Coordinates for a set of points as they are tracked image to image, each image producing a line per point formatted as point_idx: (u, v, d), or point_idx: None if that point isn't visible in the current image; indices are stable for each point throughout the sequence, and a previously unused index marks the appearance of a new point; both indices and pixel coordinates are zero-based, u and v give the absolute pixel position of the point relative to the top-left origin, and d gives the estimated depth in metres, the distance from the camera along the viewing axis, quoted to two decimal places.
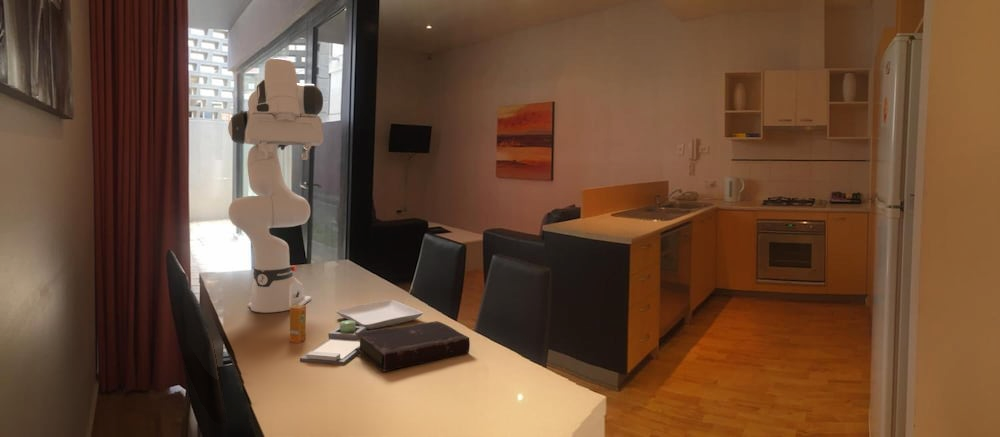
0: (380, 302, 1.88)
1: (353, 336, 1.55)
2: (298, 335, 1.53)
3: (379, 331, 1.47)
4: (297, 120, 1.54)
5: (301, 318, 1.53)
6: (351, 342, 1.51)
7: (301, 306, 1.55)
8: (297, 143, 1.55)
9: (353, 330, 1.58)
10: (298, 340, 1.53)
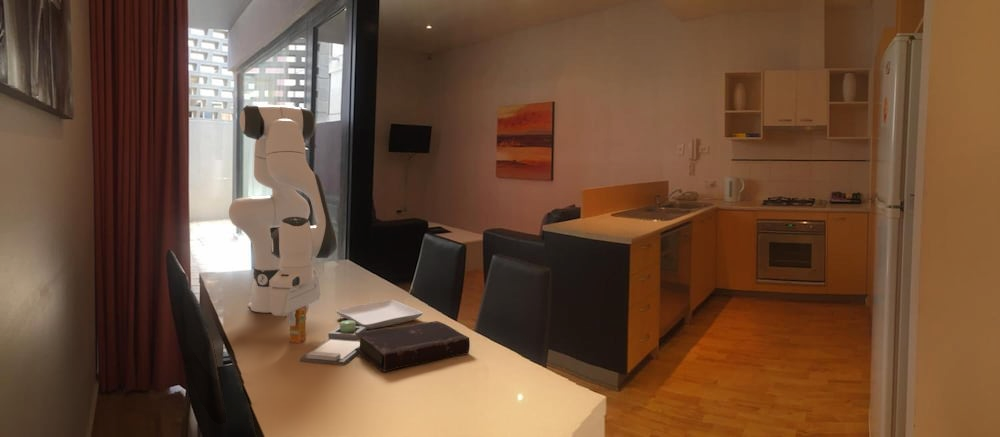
0: (380, 302, 1.88)
1: (353, 336, 1.55)
2: (298, 335, 1.53)
3: (379, 331, 1.47)
4: (308, 283, 1.56)
5: (301, 318, 1.53)
6: (351, 342, 1.51)
7: None
8: None
9: (353, 330, 1.58)
10: (298, 340, 1.53)
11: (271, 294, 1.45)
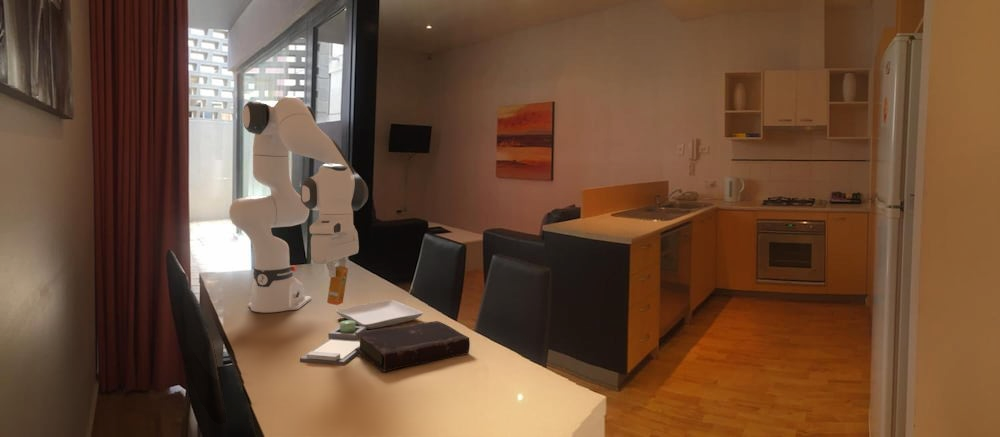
0: (380, 302, 1.88)
1: (353, 336, 1.55)
2: (337, 297, 1.46)
3: (379, 331, 1.47)
4: (348, 234, 1.49)
5: (342, 280, 1.46)
6: (351, 342, 1.51)
7: (343, 267, 1.48)
8: None
9: (353, 330, 1.58)
10: (336, 302, 1.46)
11: (312, 240, 1.38)
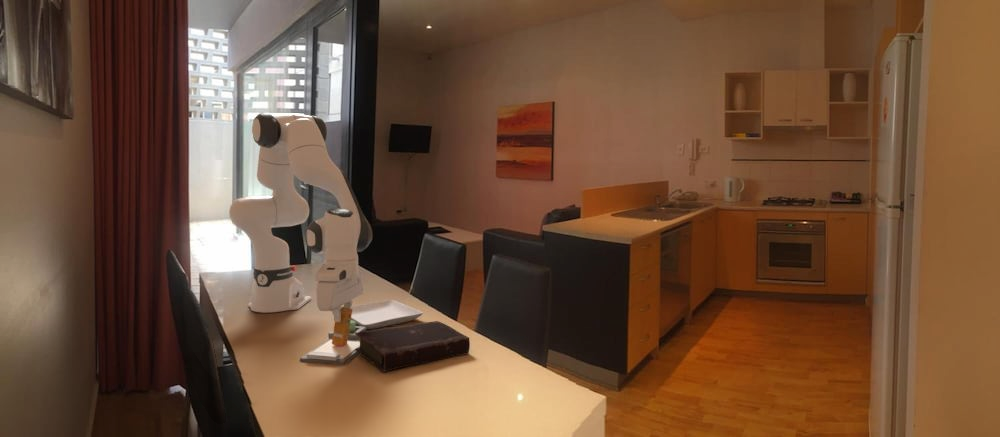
0: (380, 302, 1.88)
1: (353, 336, 1.55)
2: (341, 339, 1.47)
3: (379, 331, 1.47)
4: None
5: (346, 321, 1.48)
6: (351, 342, 1.51)
7: (348, 309, 1.49)
8: None
9: (353, 330, 1.58)
10: (341, 344, 1.48)
11: (317, 288, 1.39)
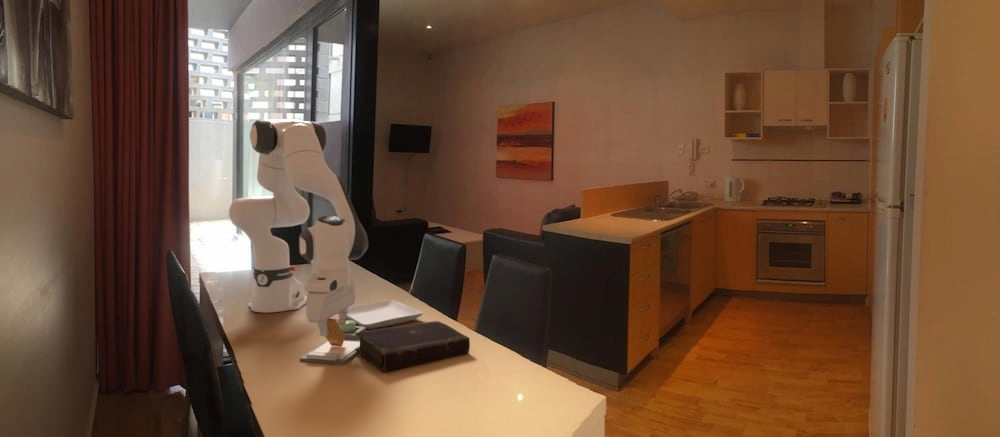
0: (380, 302, 1.88)
1: (353, 336, 1.55)
2: (338, 343, 1.46)
3: (379, 331, 1.47)
4: (344, 287, 1.46)
5: (335, 332, 1.43)
6: (351, 342, 1.51)
7: (331, 322, 1.41)
8: None
9: (353, 330, 1.58)
10: (340, 345, 1.47)
11: (307, 299, 1.34)
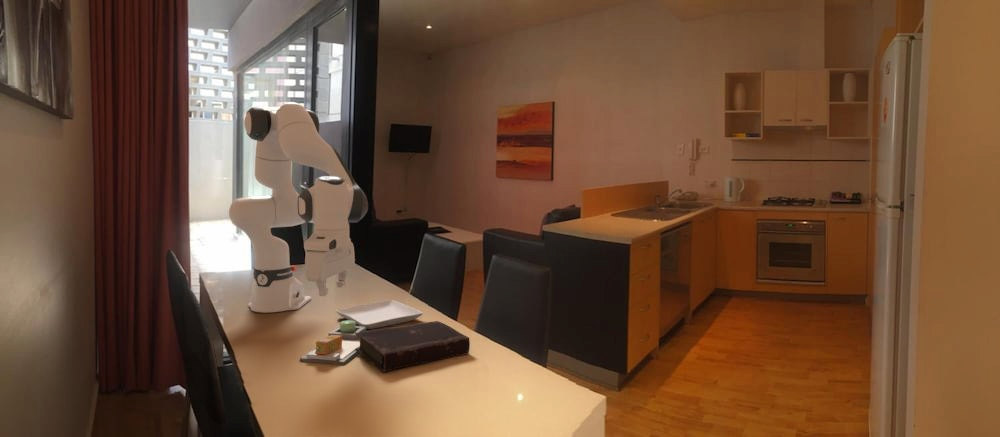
0: (380, 302, 1.88)
1: (353, 336, 1.55)
2: None
3: (379, 331, 1.47)
4: (344, 248, 1.45)
5: (331, 349, 1.41)
6: (351, 342, 1.51)
7: (324, 346, 1.38)
8: None
9: (353, 330, 1.58)
10: None
11: (306, 257, 1.33)
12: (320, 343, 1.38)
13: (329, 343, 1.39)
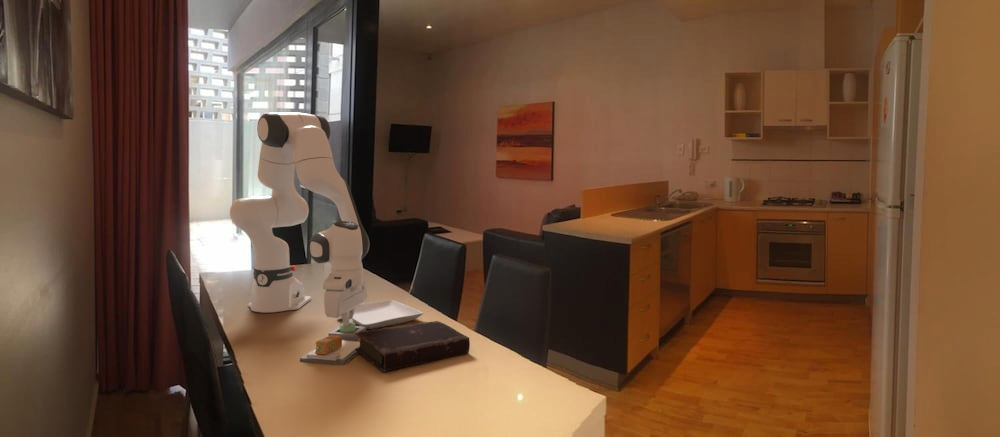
0: (380, 302, 1.88)
1: (353, 336, 1.55)
2: None
3: (379, 331, 1.47)
4: None
5: (331, 349, 1.41)
6: (351, 342, 1.51)
7: (324, 346, 1.38)
8: None
9: (353, 332, 1.58)
10: None
11: (325, 296, 1.49)
12: (320, 343, 1.38)
13: (329, 343, 1.39)
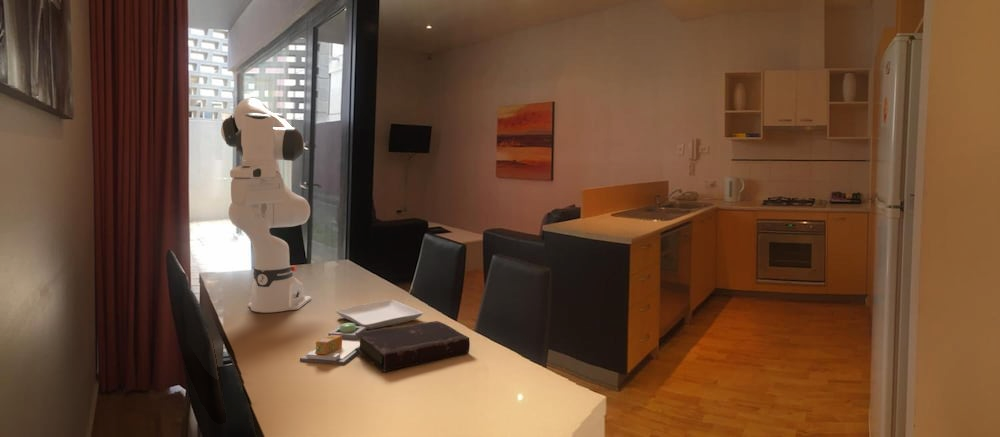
0: (380, 302, 1.88)
1: (353, 336, 1.55)
2: None
3: (379, 331, 1.47)
4: (272, 181, 1.58)
5: (331, 349, 1.41)
6: (351, 342, 1.51)
7: (324, 346, 1.38)
8: None
9: (353, 332, 1.58)
10: None
11: (232, 183, 1.46)
12: (320, 343, 1.38)
13: (329, 343, 1.39)
